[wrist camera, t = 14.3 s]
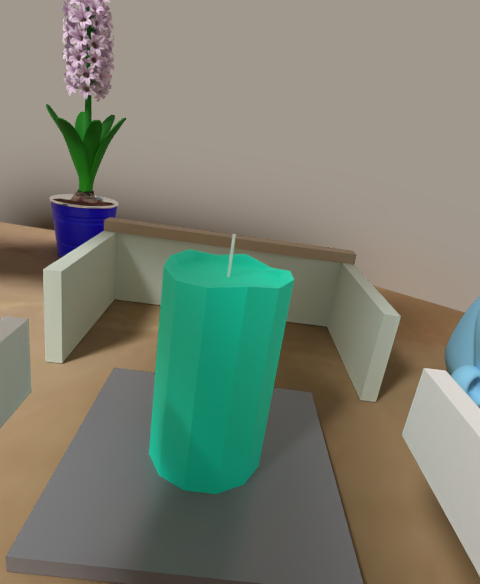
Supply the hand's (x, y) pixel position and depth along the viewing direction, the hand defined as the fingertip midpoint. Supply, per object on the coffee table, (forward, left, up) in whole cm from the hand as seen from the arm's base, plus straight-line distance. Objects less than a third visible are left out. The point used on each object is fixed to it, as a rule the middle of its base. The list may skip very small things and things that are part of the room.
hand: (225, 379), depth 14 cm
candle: (0, +6, -9) cm, 11 cm away
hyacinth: (-19, +41, -9) cm, 47 cm away
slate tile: (0, +6, -9) cm, 11 cm away
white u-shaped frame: (0, +21, -9) cm, 23 cm away
